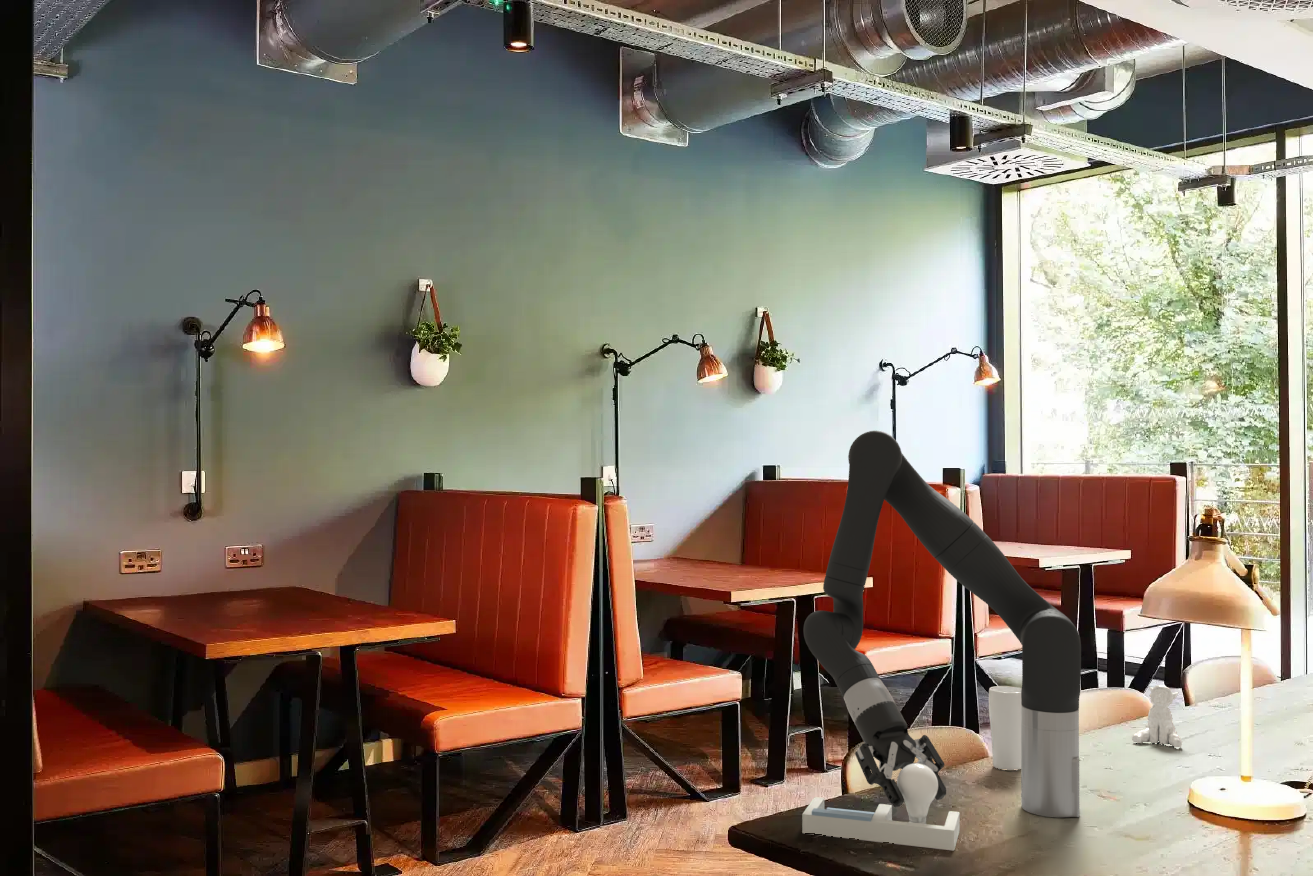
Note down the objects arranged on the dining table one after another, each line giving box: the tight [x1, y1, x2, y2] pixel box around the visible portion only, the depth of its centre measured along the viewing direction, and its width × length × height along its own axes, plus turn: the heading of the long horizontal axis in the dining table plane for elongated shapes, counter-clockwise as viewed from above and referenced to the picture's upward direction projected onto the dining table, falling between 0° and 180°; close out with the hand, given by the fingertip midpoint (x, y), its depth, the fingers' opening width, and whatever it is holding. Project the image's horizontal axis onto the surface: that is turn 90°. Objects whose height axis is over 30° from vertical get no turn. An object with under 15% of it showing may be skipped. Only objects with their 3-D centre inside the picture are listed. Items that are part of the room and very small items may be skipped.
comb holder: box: [801, 796, 961, 851], centre depth 182 cm, size 23×11×4 cm, turn 70°
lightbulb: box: [896, 762, 938, 824], centre depth 180 cm, size 6×6×11 cm
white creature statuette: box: [1131, 684, 1183, 748], centre depth 240 cm, size 10×9×12 cm
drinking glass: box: [988, 685, 1022, 770], centre depth 219 cm, size 7×7×15 cm
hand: (921, 800), depth 179 cm, fingers open, 8 cm apart
